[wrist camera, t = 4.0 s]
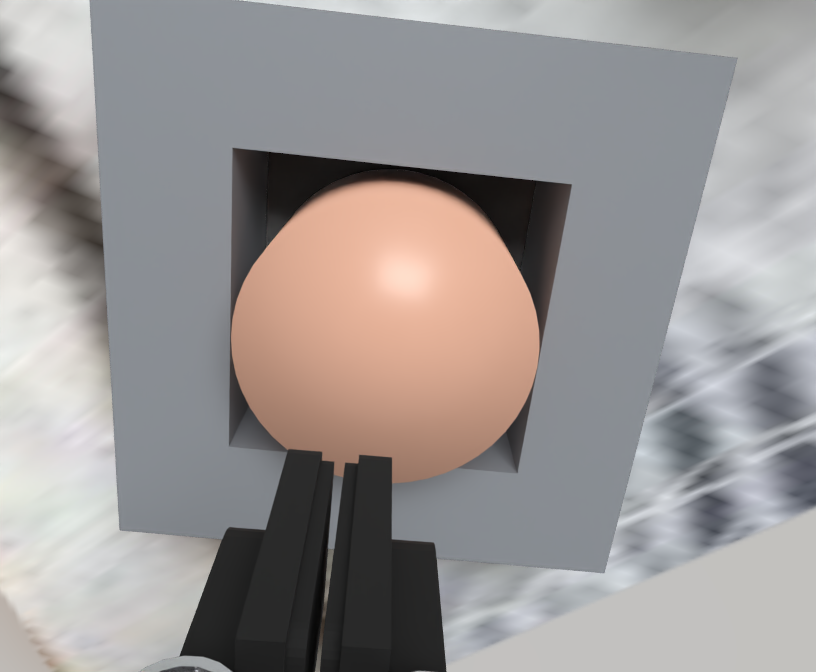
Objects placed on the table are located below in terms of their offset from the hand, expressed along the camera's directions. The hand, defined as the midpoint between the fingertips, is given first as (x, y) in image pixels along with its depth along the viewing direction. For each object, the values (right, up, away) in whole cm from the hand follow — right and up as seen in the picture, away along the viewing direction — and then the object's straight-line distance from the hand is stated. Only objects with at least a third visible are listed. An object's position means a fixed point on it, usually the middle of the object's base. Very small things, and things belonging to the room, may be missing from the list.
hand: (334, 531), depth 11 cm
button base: (+1, +5, +13) cm, 14 cm away
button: (+1, +5, +11) cm, 12 cm away
